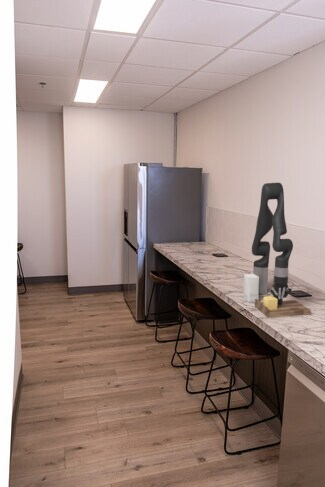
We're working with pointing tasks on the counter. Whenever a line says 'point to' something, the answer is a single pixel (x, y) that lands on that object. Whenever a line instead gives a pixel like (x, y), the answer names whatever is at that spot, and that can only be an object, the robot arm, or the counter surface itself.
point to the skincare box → (251, 287)
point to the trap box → (283, 309)
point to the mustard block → (270, 302)
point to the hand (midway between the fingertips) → (279, 304)
